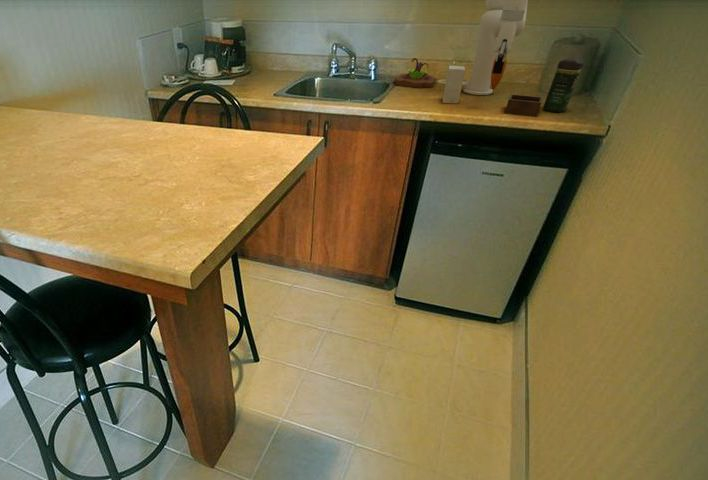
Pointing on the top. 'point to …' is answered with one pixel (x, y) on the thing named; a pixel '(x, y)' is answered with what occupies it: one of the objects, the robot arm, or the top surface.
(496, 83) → the carrot
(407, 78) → the plant
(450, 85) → the small box
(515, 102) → the pen box
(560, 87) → the coffee jar
